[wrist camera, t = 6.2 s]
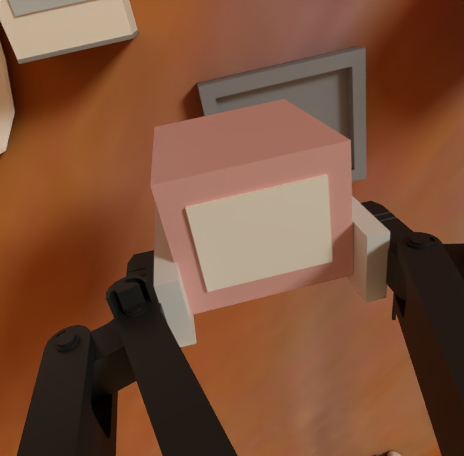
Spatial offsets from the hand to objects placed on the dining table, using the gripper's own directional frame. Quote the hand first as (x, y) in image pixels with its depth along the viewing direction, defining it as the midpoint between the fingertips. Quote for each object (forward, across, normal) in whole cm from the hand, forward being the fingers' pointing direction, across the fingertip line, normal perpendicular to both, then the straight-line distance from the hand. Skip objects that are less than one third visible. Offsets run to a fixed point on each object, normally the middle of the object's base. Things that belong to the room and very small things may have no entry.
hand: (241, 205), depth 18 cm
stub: (+1, 0, +2) cm, 2 cm away
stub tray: (+13, +6, -1) cm, 14 cm away
